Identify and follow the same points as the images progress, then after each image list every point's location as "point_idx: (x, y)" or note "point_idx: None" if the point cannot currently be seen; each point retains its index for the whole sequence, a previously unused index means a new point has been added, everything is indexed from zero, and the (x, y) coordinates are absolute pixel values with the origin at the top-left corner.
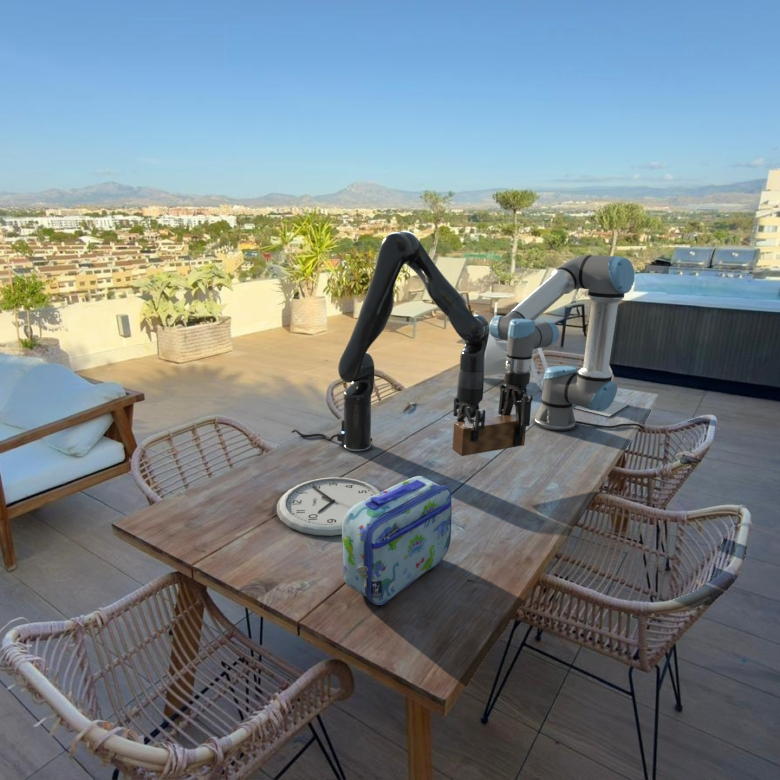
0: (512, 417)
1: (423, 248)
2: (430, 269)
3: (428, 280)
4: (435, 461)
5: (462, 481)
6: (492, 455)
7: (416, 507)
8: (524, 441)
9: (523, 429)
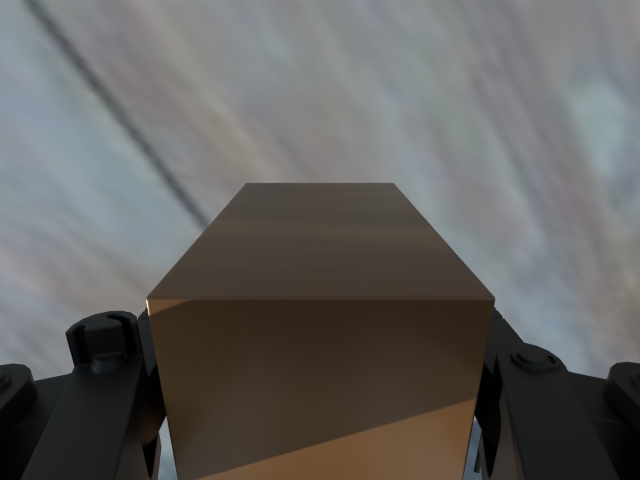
0: (304, 451)
1: None
2: None
3: None
4: (165, 456)
5: None
6: (164, 205)
7: None
8: (400, 191)
9: (517, 341)
